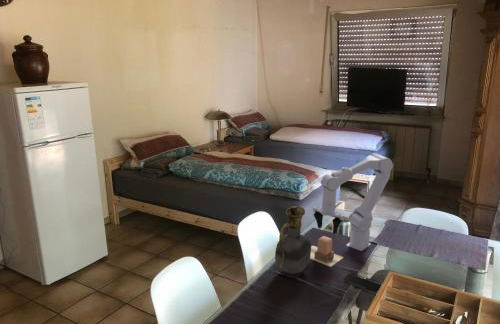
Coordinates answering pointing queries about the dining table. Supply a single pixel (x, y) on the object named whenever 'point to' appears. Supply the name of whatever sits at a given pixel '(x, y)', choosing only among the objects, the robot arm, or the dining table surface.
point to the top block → (324, 245)
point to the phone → (363, 283)
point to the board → (330, 263)
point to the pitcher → (293, 245)
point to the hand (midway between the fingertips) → (327, 230)
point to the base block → (324, 256)
